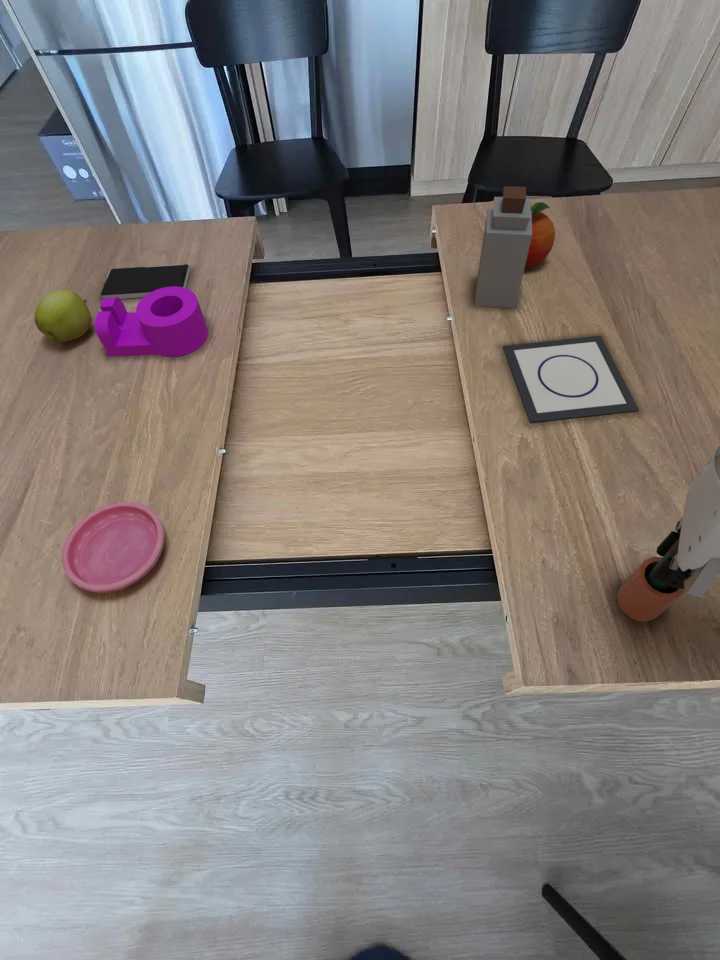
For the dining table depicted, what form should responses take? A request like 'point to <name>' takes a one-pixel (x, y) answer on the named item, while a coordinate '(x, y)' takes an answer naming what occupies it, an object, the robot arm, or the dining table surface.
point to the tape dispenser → (153, 324)
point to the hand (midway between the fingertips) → (670, 568)
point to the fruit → (540, 235)
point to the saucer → (113, 547)
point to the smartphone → (143, 280)
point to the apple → (62, 316)
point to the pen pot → (645, 594)
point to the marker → (652, 582)
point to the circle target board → (568, 379)
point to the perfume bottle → (504, 249)
